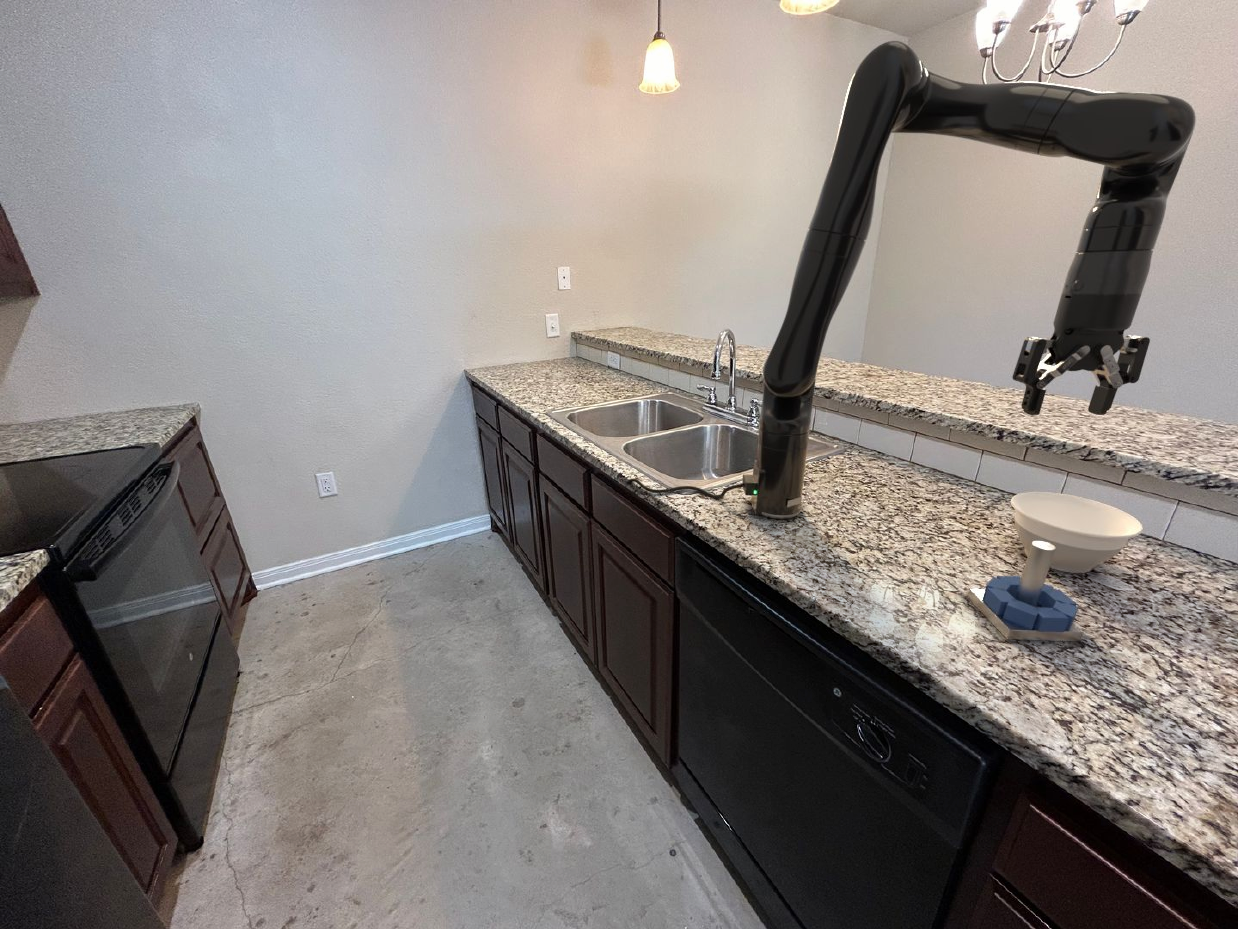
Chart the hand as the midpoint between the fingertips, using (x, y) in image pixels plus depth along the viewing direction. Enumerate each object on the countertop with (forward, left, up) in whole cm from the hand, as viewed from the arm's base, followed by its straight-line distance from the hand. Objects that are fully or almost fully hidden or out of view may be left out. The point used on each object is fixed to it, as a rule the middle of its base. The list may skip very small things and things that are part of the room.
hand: (1062, 413), depth 69 cm
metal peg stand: (-6, -11, -26) cm, 29 cm away
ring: (-6, -11, -25) cm, 28 cm away
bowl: (+10, +5, -26) cm, 29 cm away
